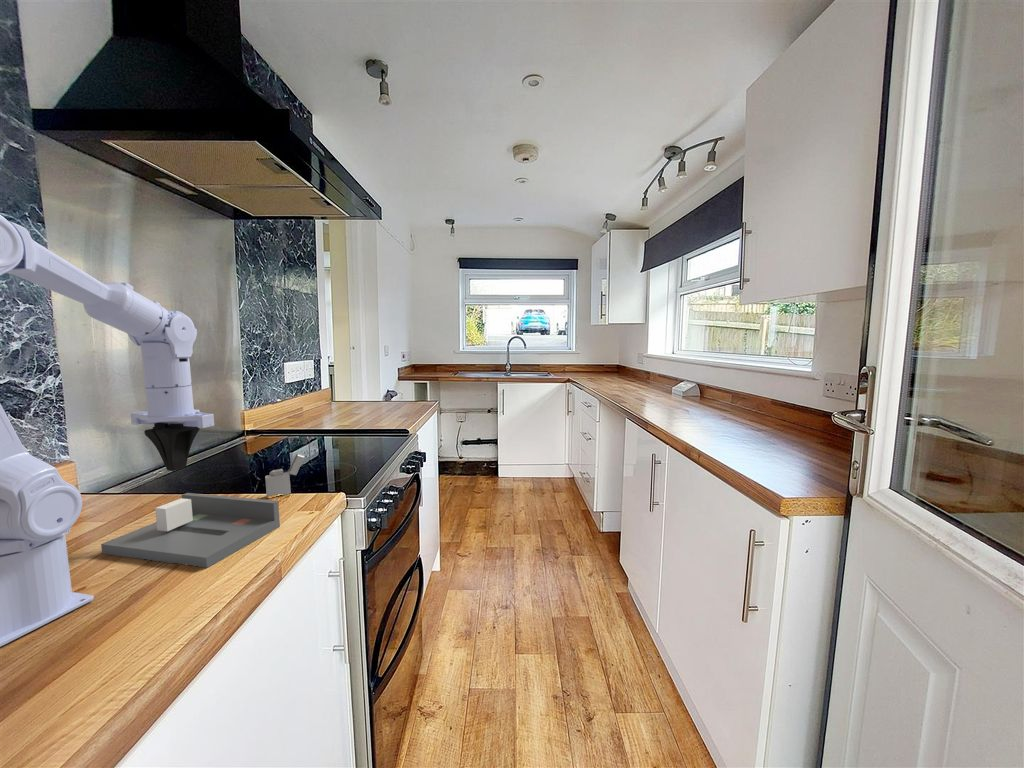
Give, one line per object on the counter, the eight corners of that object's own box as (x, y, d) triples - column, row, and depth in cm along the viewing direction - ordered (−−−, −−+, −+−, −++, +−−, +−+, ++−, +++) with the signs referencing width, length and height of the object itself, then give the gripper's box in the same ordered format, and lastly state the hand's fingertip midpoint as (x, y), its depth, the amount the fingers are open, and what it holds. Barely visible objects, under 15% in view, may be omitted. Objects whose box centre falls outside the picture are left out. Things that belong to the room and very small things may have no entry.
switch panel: (207, 568, 55) (204, 536, 55) (102, 553, 59) (98, 524, 59) (279, 526, 68) (278, 500, 68) (189, 517, 72) (187, 492, 72)
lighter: (267, 498, 81) (265, 459, 80) (266, 496, 82) (264, 457, 81) (306, 490, 85) (304, 453, 84) (305, 488, 86) (302, 452, 85)
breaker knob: (167, 531, 62) (165, 509, 62) (157, 530, 63) (155, 507, 62) (192, 520, 66) (191, 499, 66) (183, 519, 66) (181, 498, 66)
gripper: (228, 384, 66) (235, 464, 68) (160, 383, 70) (167, 459, 71) (185, 389, 60) (193, 478, 61) (112, 387, 63) (121, 471, 64)
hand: (176, 469), depth 66 cm, fingers closed
